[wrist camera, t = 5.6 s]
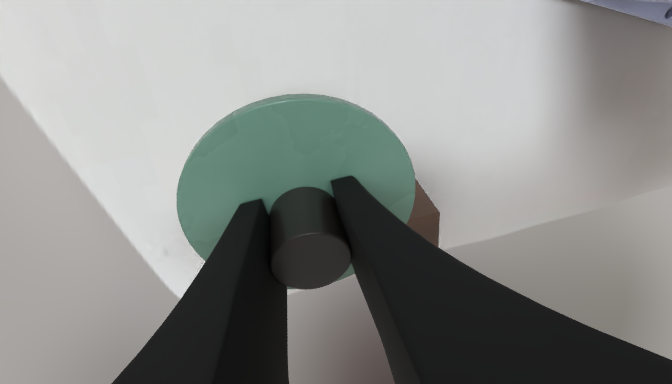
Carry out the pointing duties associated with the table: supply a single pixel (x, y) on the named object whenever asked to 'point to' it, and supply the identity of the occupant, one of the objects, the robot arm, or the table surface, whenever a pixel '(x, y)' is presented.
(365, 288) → the robot arm
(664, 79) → the table surface
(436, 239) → the block
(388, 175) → the lid
